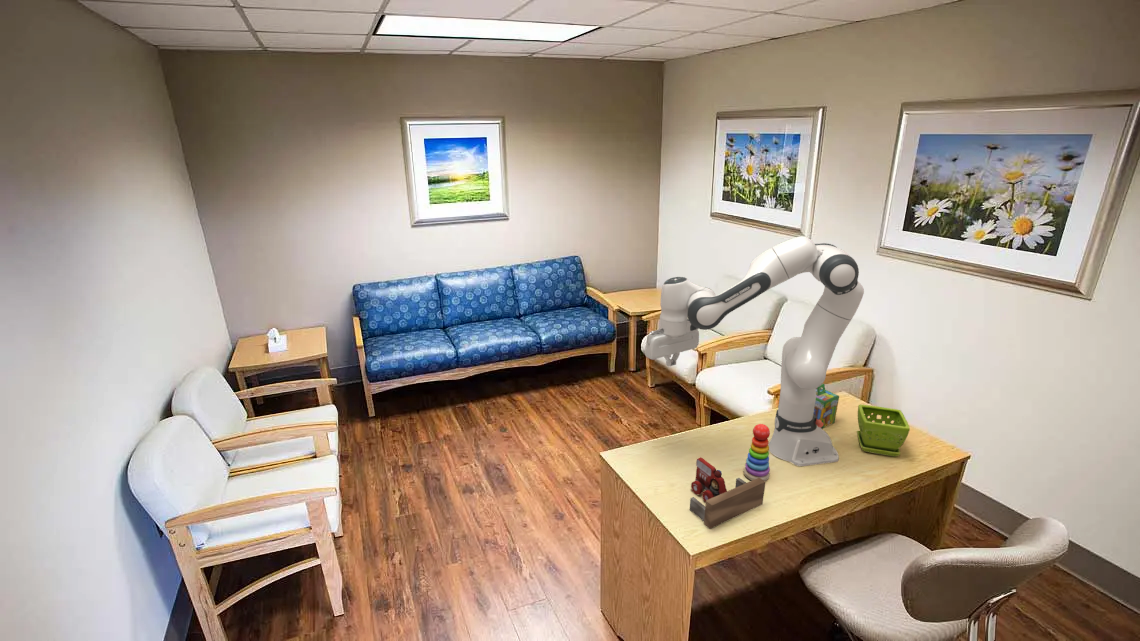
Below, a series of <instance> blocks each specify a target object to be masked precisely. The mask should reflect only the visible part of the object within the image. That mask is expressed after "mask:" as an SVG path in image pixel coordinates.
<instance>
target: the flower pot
mask: <svg viewBox="0 0 1140 641" xmlns="http://www.w3.org/2000/svg"><path fill="white" fill-rule="evenodd" d="M878 416H880V417H881V418H878ZM883 422H884V423H883ZM857 423H858V424H857V425H858V429H859V430H857V431H856V433H857V438H858V442H859V445H860V448H861V450H862V451H863V452H866V453H872V454H878V455H882V456H883V455H884V456H888V457H897V456H901V451H900V448H901V446H903V444H904V443H905V441H906V440H907V438H908V435H909V433H910V429H911V428H910V425H909V422H908V421H907V419H906V416H905V415H904V414H903V412H902V410H901V409H897V408H890V407H885V406H877V405H876V406H875V405H870V404H869V405H868V404H860V403H859V404H858V406H857Z"/></svg>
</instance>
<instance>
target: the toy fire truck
mask: <svg viewBox="0 0 1140 641" xmlns="http://www.w3.org/2000/svg"><path fill="white" fill-rule="evenodd" d="M695 462H696V463H695V464H696V472H695V480H694V481H691V484H690V488H691V491H692V493H693V494H694V495H697V496H700V495H701V498H702V500H703V502H704V503H705V504H706V500H709V499H711V498H713V497H715V496H718V495H720V494H722V493H725V492H727V491H728V489H727V486H726V481H725V479H724V477H723V476H722V474H723V473H722V471H721V470H719V469H717V468H716V467H715V466H713V465H712V464H711V463H710V462H708V461H707V460H706V459H705V458H703V457H701V456H700V457H698V458H696V461H695Z"/></svg>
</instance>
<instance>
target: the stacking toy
mask: <svg viewBox="0 0 1140 641" xmlns="http://www.w3.org/2000/svg"><path fill="white" fill-rule="evenodd" d="M752 435H753V437H752V438H751V443H750V447H749V448H748V449H749V450H748V453H747V458H746V459H745V460H746V461H745V465H744V466H745V467H744V468H743V475H744V476H745V477H746V478H747V479H748V480H750V481H752V480H754V479H757V478H761V479H762V480H764V481H765V482H766V481H767V480H769V478H770V476H771V475H770V474H771V473H770V471H771V469H770V462H769V461H770V456H769V455H770V451H769V446H768V444H769V442H770V440H769V437H770V435H771V431H770V428H769V427H768V426H767V425H766V424H763V423H758V424H756V425H755V426H754V427H753V428H752Z"/></svg>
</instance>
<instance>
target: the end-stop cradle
mask: <svg viewBox="0 0 1140 641" xmlns="http://www.w3.org/2000/svg"><path fill="white" fill-rule="evenodd" d="M765 489H766V481H764V480H762V479H761V478H757V479H754V480H750V481H747V482H746V481H745V480H743V479H742V478H740V477H737V478H736V479H735V486H734V488H731V489H729V490H727V492H725V493H722V494H720V495H718V496H715V497H713V498H711V499H709V500H706V503H705V505H704V504H703V503H702V502H700V500H698V499H697V498H696V497H694V496H693V497H690V499H689V508H688V509H689V510H690V511H691V512H692V513H693V514H694V515H695V516H696V517H698V518H699V519H700V520H701V521H702V522H703V525H704V526H706V527H707V529H709V530H711V529H714V528H715V527H717V526H719V525H723V523H726V522H728V521H730V520H732V519H734V518H736V517H738V516H740V515H743V514H745V513H747V512H749V511H752V510H754V509H756V508H758V507H760V506H762V505H763V503H764V496H765Z"/></svg>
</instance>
